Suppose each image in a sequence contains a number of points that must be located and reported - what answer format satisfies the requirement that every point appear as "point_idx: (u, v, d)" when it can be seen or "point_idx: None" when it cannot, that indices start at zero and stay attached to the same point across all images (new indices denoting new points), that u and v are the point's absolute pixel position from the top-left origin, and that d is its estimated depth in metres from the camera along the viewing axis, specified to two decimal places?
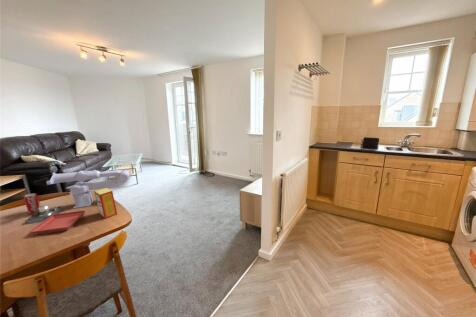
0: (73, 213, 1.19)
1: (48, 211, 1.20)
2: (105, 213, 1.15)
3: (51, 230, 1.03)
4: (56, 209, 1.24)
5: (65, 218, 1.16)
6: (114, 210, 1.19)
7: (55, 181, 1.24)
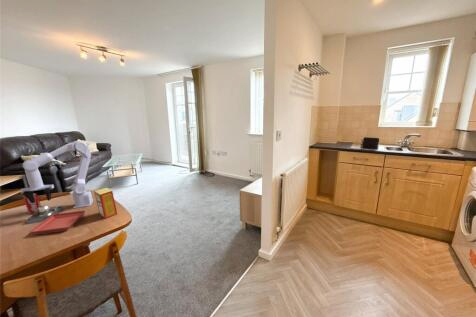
0: (73, 213, 1.19)
1: (48, 211, 1.20)
2: (105, 213, 1.15)
3: (51, 230, 1.03)
4: (56, 209, 1.24)
5: (65, 218, 1.16)
6: (114, 210, 1.19)
7: (43, 185, 1.17)
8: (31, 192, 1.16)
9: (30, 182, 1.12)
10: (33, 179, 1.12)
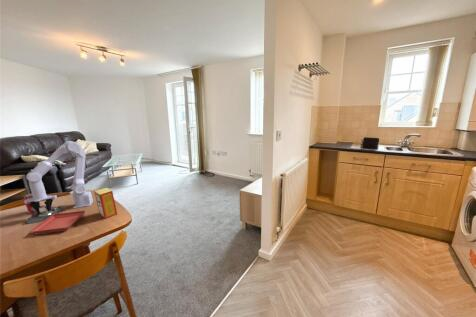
0: (73, 213, 1.19)
1: (48, 211, 1.20)
2: (105, 213, 1.15)
3: (51, 230, 1.03)
4: (56, 209, 1.24)
5: (65, 218, 1.16)
6: (114, 210, 1.19)
7: (46, 195, 1.19)
8: (37, 202, 1.18)
9: (34, 193, 1.14)
10: (37, 190, 1.14)
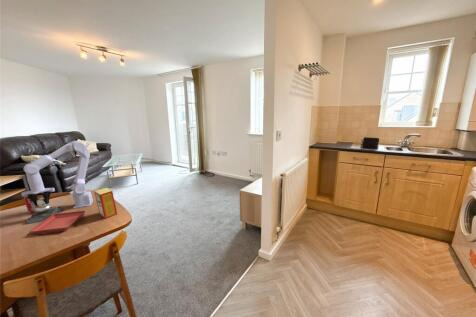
0: (73, 213, 1.19)
1: (46, 204, 1.19)
2: (105, 213, 1.15)
3: (50, 230, 1.03)
4: (56, 209, 1.24)
5: (65, 218, 1.16)
6: (114, 210, 1.19)
7: (44, 188, 1.18)
8: (35, 195, 1.17)
9: (31, 185, 1.12)
10: (34, 182, 1.13)
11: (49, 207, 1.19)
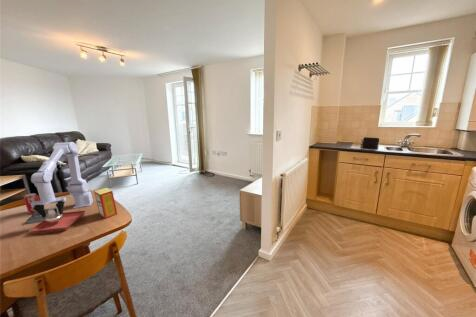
0: (74, 213, 1.19)
1: (57, 213, 1.11)
2: (105, 213, 1.15)
3: (50, 230, 1.03)
4: None
5: (66, 218, 1.17)
6: (114, 210, 1.19)
7: None
8: (42, 206, 1.08)
9: (41, 195, 1.04)
10: (50, 191, 1.06)
11: (61, 217, 1.11)
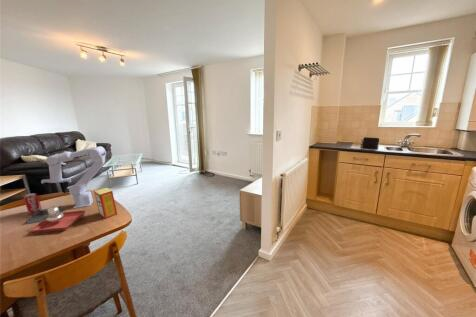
0: (74, 212, 1.19)
1: (58, 213, 1.11)
2: (105, 213, 1.15)
3: (50, 230, 1.03)
4: None
5: (66, 217, 1.17)
6: (114, 210, 1.19)
7: (62, 178, 1.29)
8: (50, 183, 1.27)
9: (52, 175, 1.23)
10: (51, 172, 1.23)
11: (62, 216, 1.12)
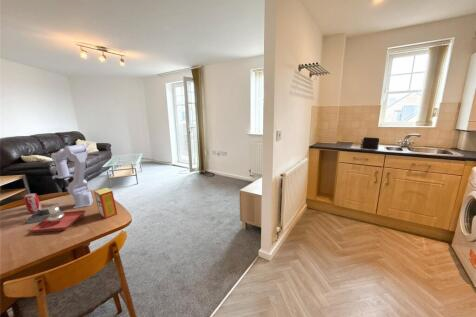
0: (74, 212, 1.20)
1: (59, 213, 1.11)
2: (105, 213, 1.15)
3: (50, 229, 1.04)
4: None
5: (66, 217, 1.17)
6: (114, 210, 1.19)
7: (68, 174, 1.37)
8: (60, 179, 1.37)
9: (58, 171, 1.32)
10: None
11: (62, 216, 1.12)
